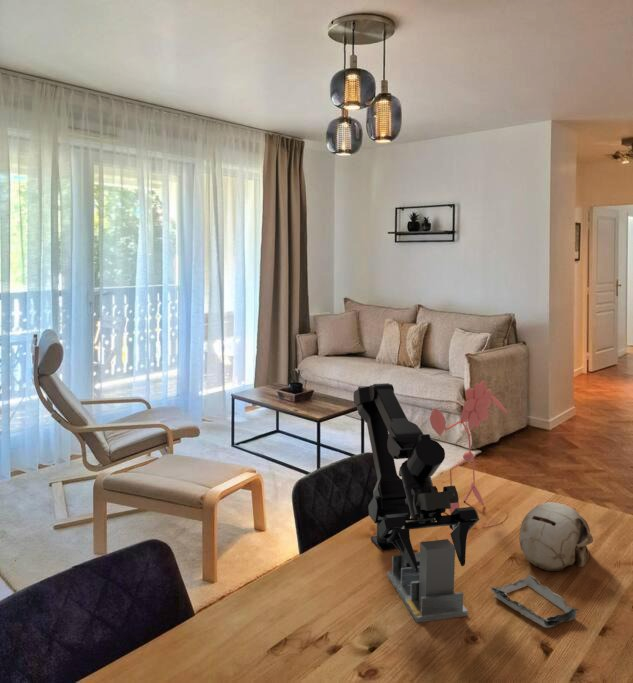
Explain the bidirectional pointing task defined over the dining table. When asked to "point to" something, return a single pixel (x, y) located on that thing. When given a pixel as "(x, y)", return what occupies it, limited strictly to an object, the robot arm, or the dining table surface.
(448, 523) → the robot arm
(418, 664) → the dining table surface
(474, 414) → the figurine
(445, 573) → the block
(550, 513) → the coin bank
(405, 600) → the rack
